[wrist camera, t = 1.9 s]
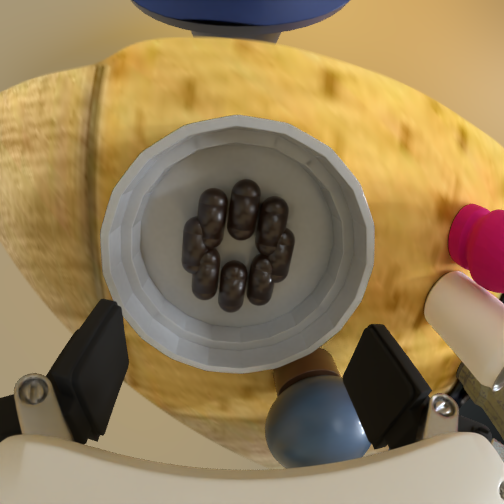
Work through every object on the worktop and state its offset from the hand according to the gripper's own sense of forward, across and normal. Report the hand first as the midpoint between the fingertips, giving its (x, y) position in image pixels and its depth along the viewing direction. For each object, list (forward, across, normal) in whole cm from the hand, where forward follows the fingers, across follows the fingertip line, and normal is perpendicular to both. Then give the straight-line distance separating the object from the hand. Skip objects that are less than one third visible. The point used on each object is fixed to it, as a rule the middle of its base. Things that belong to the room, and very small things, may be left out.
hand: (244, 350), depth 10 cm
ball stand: (+11, -8, +11) cm, 18 cm away
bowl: (+10, 0, 0) cm, 11 cm away
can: (+11, -22, +2) cm, 25 cm away
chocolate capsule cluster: (+10, 0, 0) cm, 10 cm away
